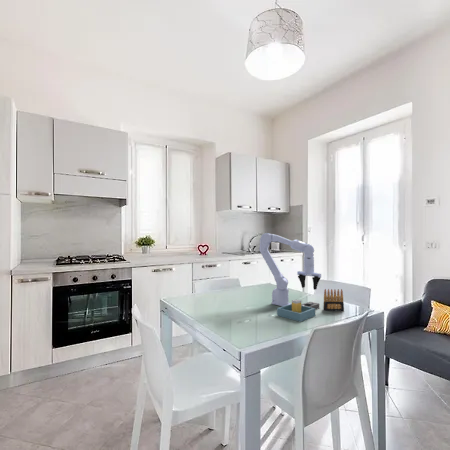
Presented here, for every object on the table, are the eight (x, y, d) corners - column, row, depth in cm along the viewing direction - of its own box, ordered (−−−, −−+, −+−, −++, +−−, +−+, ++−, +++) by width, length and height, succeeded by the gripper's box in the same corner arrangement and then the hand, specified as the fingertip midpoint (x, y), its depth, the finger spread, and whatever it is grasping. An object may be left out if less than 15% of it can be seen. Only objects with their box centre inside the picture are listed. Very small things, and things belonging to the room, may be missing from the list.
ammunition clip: (324, 310, 159) (323, 289, 160) (323, 309, 161) (323, 288, 161) (344, 311, 158) (343, 289, 159) (343, 310, 160) (342, 288, 161)
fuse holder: (296, 310, 160) (296, 305, 160) (309, 305, 169) (309, 300, 169) (306, 312, 156) (306, 307, 156) (319, 307, 165) (319, 302, 165)
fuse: (291, 313, 151) (291, 300, 151) (296, 312, 153) (296, 299, 153) (296, 315, 149) (296, 301, 149) (301, 313, 151) (301, 300, 151)
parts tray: (277, 315, 151) (277, 308, 151) (292, 310, 161) (292, 303, 161) (300, 321, 141) (300, 313, 141) (315, 315, 150) (315, 308, 150)
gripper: (323, 265, 166) (324, 289, 166) (301, 263, 177) (302, 285, 177) (317, 266, 162) (317, 291, 161) (295, 264, 172) (295, 287, 172)
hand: (309, 288), depth 169 cm, fingers open, 7 cm apart
